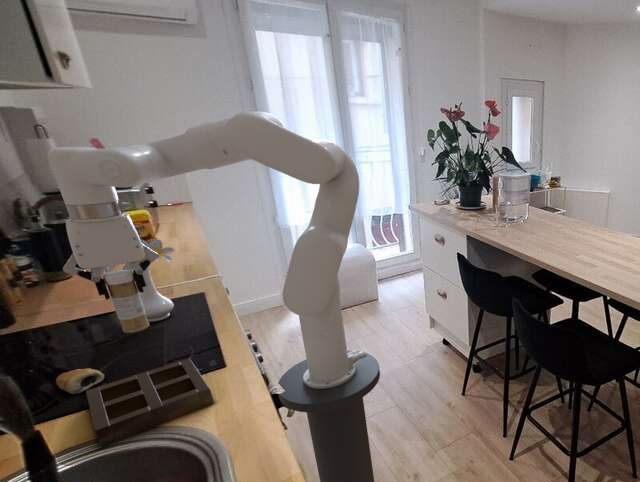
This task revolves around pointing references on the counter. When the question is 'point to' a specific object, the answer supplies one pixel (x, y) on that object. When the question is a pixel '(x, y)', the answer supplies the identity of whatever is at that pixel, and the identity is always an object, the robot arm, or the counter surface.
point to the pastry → (79, 380)
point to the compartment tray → (146, 400)
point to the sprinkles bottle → (126, 300)
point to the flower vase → (151, 285)
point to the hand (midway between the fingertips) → (124, 293)
